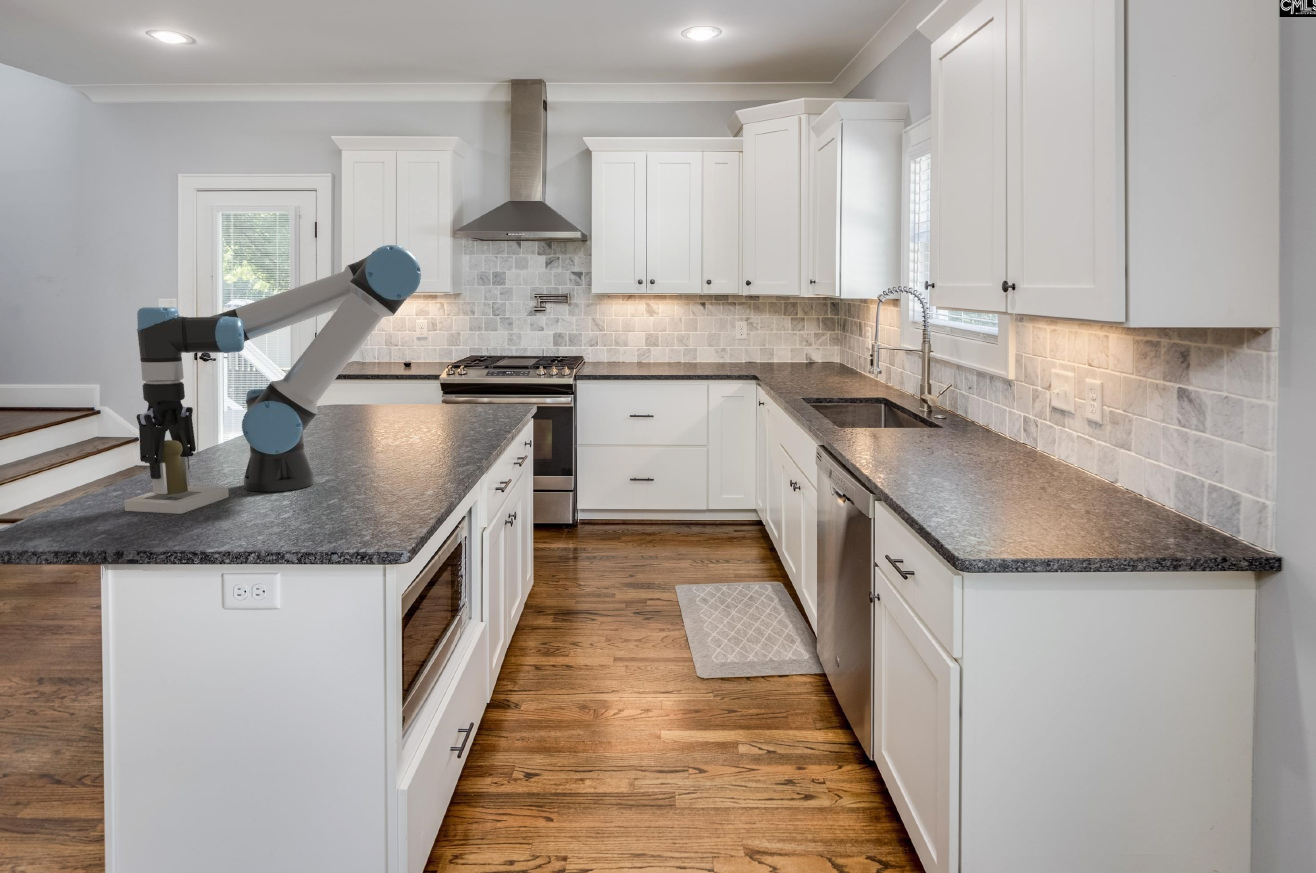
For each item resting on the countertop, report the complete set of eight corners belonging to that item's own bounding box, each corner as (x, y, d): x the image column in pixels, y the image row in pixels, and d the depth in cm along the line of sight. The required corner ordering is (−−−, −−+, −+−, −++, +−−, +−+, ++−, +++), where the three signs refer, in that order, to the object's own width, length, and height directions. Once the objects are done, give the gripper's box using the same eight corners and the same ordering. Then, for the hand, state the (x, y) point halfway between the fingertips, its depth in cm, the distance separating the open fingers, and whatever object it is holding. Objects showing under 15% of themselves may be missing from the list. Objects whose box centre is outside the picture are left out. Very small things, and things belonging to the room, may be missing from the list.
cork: (150, 495, 177) (146, 443, 176) (161, 488, 183) (157, 438, 181) (182, 494, 178) (178, 442, 177) (192, 488, 184) (188, 438, 183)
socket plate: (176, 494, 191) (175, 484, 191) (228, 497, 189) (228, 487, 189) (125, 510, 176) (124, 500, 176) (181, 513, 174) (180, 503, 174)
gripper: (179, 377, 187) (187, 479, 191) (111, 385, 168) (121, 499, 172) (210, 378, 186) (217, 481, 189) (145, 386, 167) (154, 501, 171)
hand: (171, 489), depth 181 cm, fingers closed on cork, 6 cm apart
